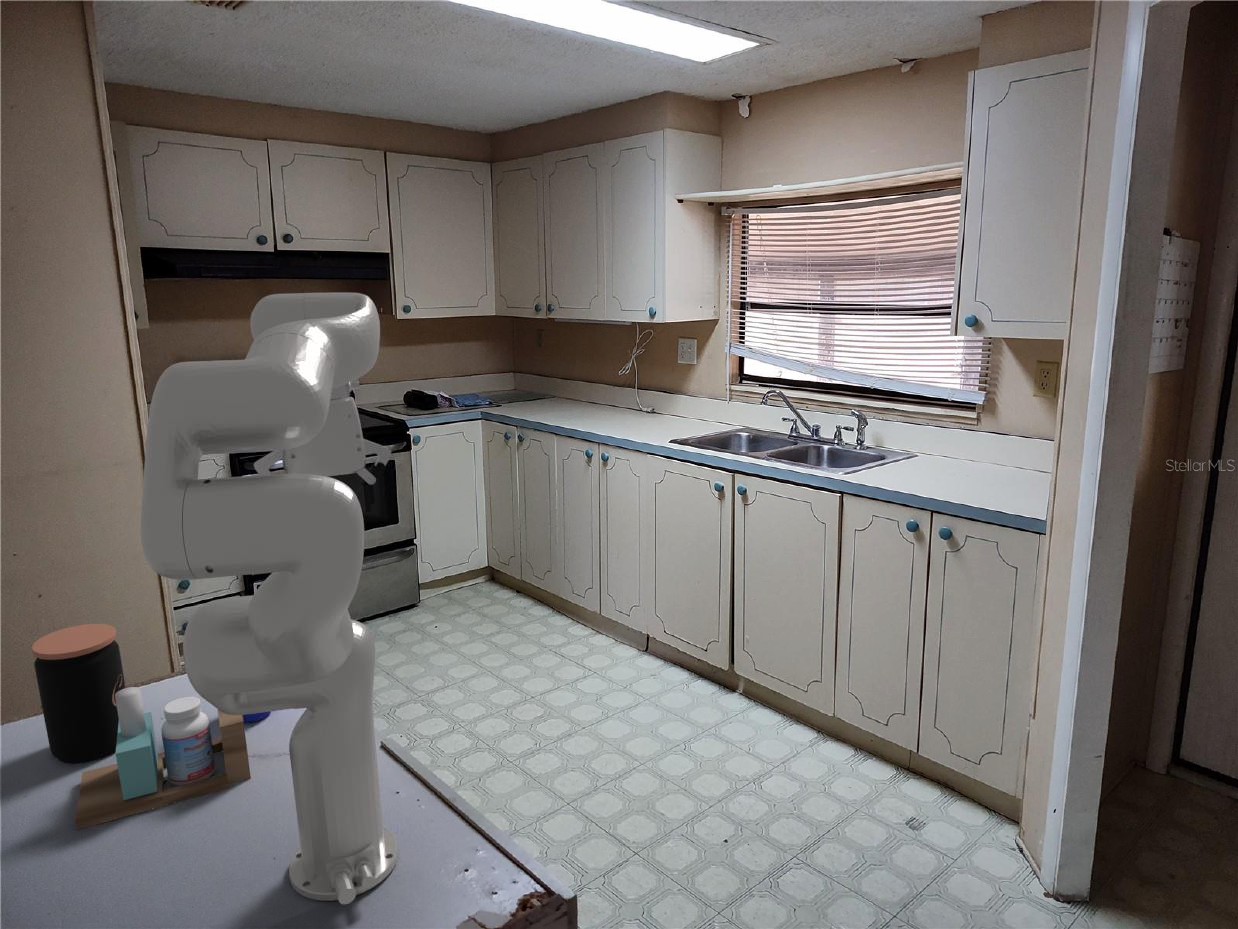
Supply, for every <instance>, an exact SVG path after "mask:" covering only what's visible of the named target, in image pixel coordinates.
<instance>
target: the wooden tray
mask: <svg viewBox="0 0 1238 929" xmlns="http://www.w3.org/2000/svg"><path fill="white" fill-rule="evenodd" d="M217 715H218V722H219V730H220V738H216V739H212V746H213V753H214V754H218V753H223V758H224V766H225V773H222V774H219V775H215V776H210V777H208V778H207V779H203V780H199V781H195V782H192V783H188V784H184V785H180V786H178V785H175V786H174V787H170V788H166V789H164V787H165V786H164V784H165V779H164V778H165V776H164V774H165V771H164V770H165V768H164V767H166V760H165V754H164V751H162V752H159V753H158V752H157V753H158V787H157V792H154V793H150V794H146V795H142V796H139V797H135V798H131V799H127V800H124V801H123V795H122V789H121V783H120V777H119V771H118V765H117V763H115V764H110V765H107V766H102V767H98V768H94V769H90V770H87V771H82V775H81V780H80V786H79V787H80V788H79V793H78V798H77V804H76V810H75V817H74V823H75V828H76V830H77V831H78V830H80V829H84V828H88V826H89V827H92V826H94V825H99V824H103V823H106V822H105V821H107V822H110V821H113V819H114V820H116V819H115V818H118V819H121V818H124V817H128V816H127V815H129V816H131V815H135V813H136V814H139V813H138V812H140V813H142V812H141V811H143V812H147V811H150V810H149V809H151V810H153V809H152V808H154V809H157V807H158V808H161V807H160V806H162V807H164V805H165V806H167V805H166V804H169V805H172V804H175V803H174V802H176V803H179V801H180V802H183V801H187V800H190V798H191V799H194V798H198V797H201V796H204V795H208V794H212V793H213V794H214V793H216V792H221V791H223V790H228V789H229V785H232V784H234V783H235V784H236V783H239V782H242V781H247V780H250V779H251V778H252V776H251V771H250V770H251V769H250V762H249V753H248V746H247V745H248V744H247V737H246V731H245V723H244V721H243V716H242V715H229V714H226V713H223V712H221V711H220V710H218V709H217ZM146 810H147V811H146ZM109 820H110V821H109ZM102 822H103V823H102ZM91 825H92V826H91Z"/></svg>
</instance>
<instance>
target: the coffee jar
mask: <svg viewBox="0 0 1238 929" xmlns="http://www.w3.org/2000/svg"><path fill="white" fill-rule="evenodd" d="M116 638H117V630H116V628H115V627H114V626H113V625H109V624H107V623H106V624H105V623H88V624H80V625H74V626H69V627H67V628H66V627H65V628H61V629H58V630H56V631H53V632H51V633H50V632H49V633H48V634H46V635H44V636H42V637H39V639H37V640H36V641H34V643H32V646H31V648H30V650H31V652H32V654H33V656H34V657H35V658H36V659H35V661H34V663H33V666H34V671H35V676H36V683H37V687H38V692H39V698H40V702H41V703H40V704H41V707H42V708H41V709H42V712H43V713H42V714H43V717H44V723H45V730H46V735H47V741H48V746H49V750H50V753H51V755H52V756H53V758H55V759H57V760H58V761H60V762H61V763H62V764H67V763H68V764H69V765H77V764H78V765H79V764H80V763H81V764H86V763H91V762H96V761H98V760H101V759H104V758H107V757H109V756H110V755H114V754H116V745H117V735H118V725H119V717H118V711H117V705H116V699H115V694H116V693H117V692H118V691H120V690H122V689H125V688H127V687H126V681H125V675H124V669H123V663H122V662H123V661H122V656H121V650H120V646H119V643H118V642H117V641H116ZM95 760H96V761H95Z"/></svg>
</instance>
